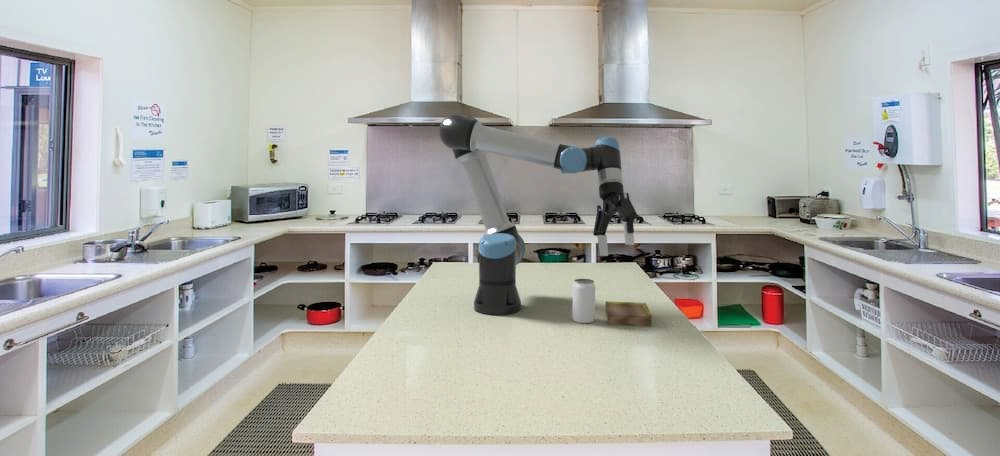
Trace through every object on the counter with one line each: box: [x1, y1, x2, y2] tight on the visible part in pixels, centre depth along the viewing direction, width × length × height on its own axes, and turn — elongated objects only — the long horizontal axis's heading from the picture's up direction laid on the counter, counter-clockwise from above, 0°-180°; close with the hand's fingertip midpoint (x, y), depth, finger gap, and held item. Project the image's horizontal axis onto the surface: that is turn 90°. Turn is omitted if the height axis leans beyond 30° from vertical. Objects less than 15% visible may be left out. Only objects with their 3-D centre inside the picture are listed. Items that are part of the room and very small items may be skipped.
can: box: [571, 278, 596, 325], centre depth 146 cm, size 6×6×12 cm
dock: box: [605, 301, 653, 328], centre depth 148 cm, size 12×12×4 cm
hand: (616, 250), depth 150 cm, fingers open, 13 cm apart
